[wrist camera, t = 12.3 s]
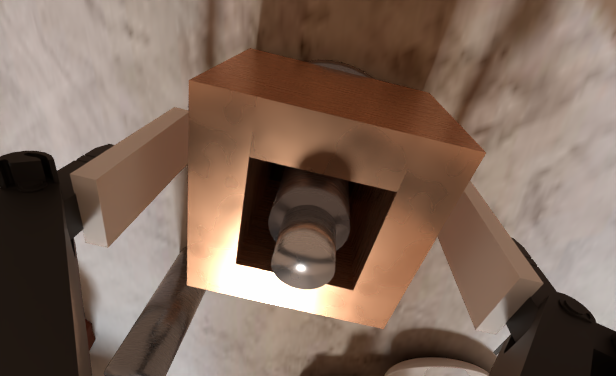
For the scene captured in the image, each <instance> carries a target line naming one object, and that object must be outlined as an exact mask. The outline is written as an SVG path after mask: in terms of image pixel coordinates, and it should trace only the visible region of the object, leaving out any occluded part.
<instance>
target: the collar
mask: <svg viewBox="0 0 616 376" xmlns="http://www.w3.org/2000/svg"><path fill="white" fill-rule="evenodd" d="M485 154H486V152H485V151H484V150H483V149H482V148H481V147H480V146H479V145H478V144H477V143H476V141H475V140H474V139H473V138H472V137H471V136H470V135H469V134H468V133H467V132H466V131H465V130H464V129H463V128H462V127H461V126H460V125H459V124H458V123H457V122H456V120H455V119H454V118H453V117H452V116H451V115H450V114H449V113H448V112H447V111H446V110H445V109H444V108H443V107H442V106H441V105H440V104H439V103H438V102H437V101H436V99H435V98H434V97H433V96H432V95H431V94H430V93H428V92H424V91H420V90H416V89H412V88H408V87H404V86H400V85H396V84H391V83H387V82H383V81H379V80H375V79H371V78H367V77H363V76H359V75H355V74H351V73H347V72H343V71H339V70H335V69H331V68H327V67H323V66H319V65H315V64H311V63H307V62H303V61H299V60H295V59H291V58H287V57H283V56H279V55H275V54H271V53H267V52H263V51H259V50H255V49H251V48H250V49H248V50H246V51H244V52H242V53H240V54H238V55H236V56H234V57H232V58H230V59H228V60H226V61H225V62H223V63H221V64H219V65H217V66H215V67H213V68H211V69H209V70H207V71H205V72H203V73H202V74H200V75H198V76H196V77H194V78H192V79H190V80H189V122H188V232H187V286H192V287H196V288H201V289H205V290H210V291H215V292H219V293H224V294H228V295H233V296H237V297H242V298H246V299H251V300H255V301H260V302H264V303H269V304H273V305H278V306H282V307H287V308H291V309H296V310H300V311H305V312H309V313H314V314H318V315H323V316H327V317H332V318H337V319H341V320H346V321H350V322H355V323H359V324H364V325H368V326H373V327H377V328H382V329H384V327H385V325H386V324H387V322H388V320H389V318H390V317H391V315H392V313H393V312H394V310H395V308H396V306H397V305H398V303H399V301H400V300H401V298H402V296H403V294H404V293H405V291H406V289H407V288H408V286H409V284H410V282H411V281H412V279H413V277H414V276H415V274H416V272H417V270H418V269H419V267H420V265H421V264H422V262H423V260H424V258H425V257H426V255H427V253H428V252H429V250H430V248H431V246H432V245H433V243H434V241H435V240H436V238H437V236H438V234H439V233H440V231H441V229H442V228H443V226H444V224H445V222H446V221H447V219H448V217H449V216H450V214H451V212H452V210H453V209H454V207H455V205H456V204H457V202H458V200H459V198H460V197H461V195H462V193H463V192H464V190H465V188H466V186H467V185H468V183H469V181H470V180H471V178H472V176H473V174H474V173H475V171H476V169H477V168H478V166H479V164H480V162H481V161H482V159H483V157H484V156H485ZM272 163H276V164H281V165H285V166H289V167H293V168H298V169H302V170H306V171H310V172H314V173H319V174H323V175H327V176H331V177H335V178H340V179H344V180H348V181H352V182H355V184H354V187H353V190H352V193H351V196H350V198H349V214H350V233H349V236H348V238H347V240H346V242H345V243H344V245H343V246H342V247H341V248H339V249H338V250H337V251H336V256H335V273H334V276H333V278H332V279H331V280H330V281H329V282H328V283H327V284H326V285H324V286H322V287H320V288H316V289H310V290H303V289H296V288H293V287H290V286H288V285H286V284H284V283H282V282H281V281H280V280H279V279H278V278H277V277H276V276H275V274H274V273H273V271H272V267H271V261H272V257H273V253H274V250H275V246H276V242H275V240H274V239H273V237H272V235H271V233H270V231H269V225H268V220H269V215H270V212H271V209H272V206H273V203H274V200H275V197H276V194H277V191H278V188H279V185H280V182H278V181H273V180H269V179H270V173H271V167H272Z"/></svg>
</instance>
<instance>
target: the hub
mask: <svg viewBox="0 0 616 376" xmlns="http://www.w3.org/2000/svg"><path fill="white" fill-rule="evenodd" d="M307 63H311V64H315V65H319V66H323V67H327V68H331V69H335V70H339V71H343V72H347V73H351V74H355V75H359V76H363V77H367V78H371V79H373V78H372V77H371V76H369V75H368V74H366V73H365V72H363V71H362V70H360V69H357V68H355V67H353V66H351V65H348V64H345V63H342V62H336V61H330V60H315V61H307ZM269 180H273V181H278V182H280V185H279V188H278V191H277V194H276V197H275V200H274V203H273V206H272V209H271V212H270V215H269V220H268V225H269V231H270V233H271V235H272V237H273V239H274V240H275V242H276V246H275V250H274V253H273V257H272V261H271V267H272V271H273V273H274V274H275V276H276V277H277V278H278V279H279V280H280V281H281V282H282V283H284V284H286V285H288V286H290V287H293V288H296V289H303V290H310V289H316V288H320V287H322V286H324V285H326V284H327V283H328V282H329V281H330V280H331V279H332V278H333V276H334V273H335V256H336V251H337V250H338V249H339V248H341V247H342V246H343V245H344V243H345V242H346V240H347V238H348V236H349V233H350V214H349V198H350V196H351V193H352V190H353V187H354V184H355V182H352V181H348V180H344V179H340V178H335V177H331V176H327V175H323V174H319V173H314V172H310V171H306V170H302V169H298V168H293V167H289V166H285V165H281V164H276V163H272V167H271V173H270V179H269Z"/></svg>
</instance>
